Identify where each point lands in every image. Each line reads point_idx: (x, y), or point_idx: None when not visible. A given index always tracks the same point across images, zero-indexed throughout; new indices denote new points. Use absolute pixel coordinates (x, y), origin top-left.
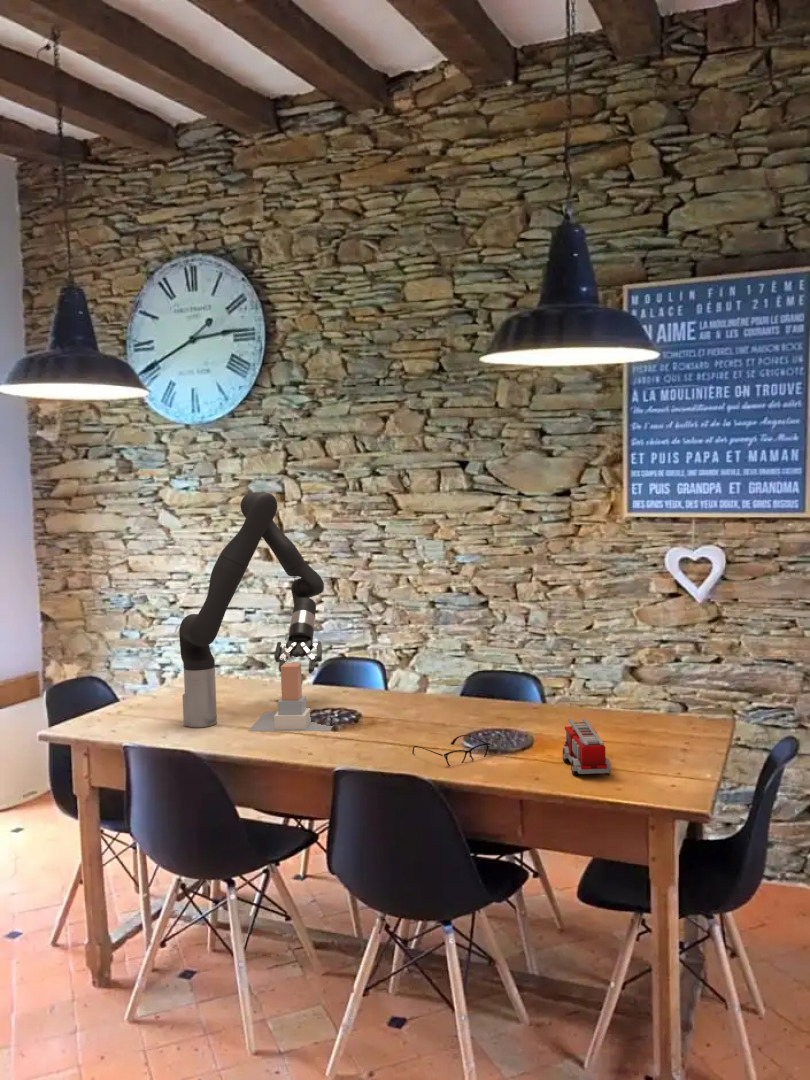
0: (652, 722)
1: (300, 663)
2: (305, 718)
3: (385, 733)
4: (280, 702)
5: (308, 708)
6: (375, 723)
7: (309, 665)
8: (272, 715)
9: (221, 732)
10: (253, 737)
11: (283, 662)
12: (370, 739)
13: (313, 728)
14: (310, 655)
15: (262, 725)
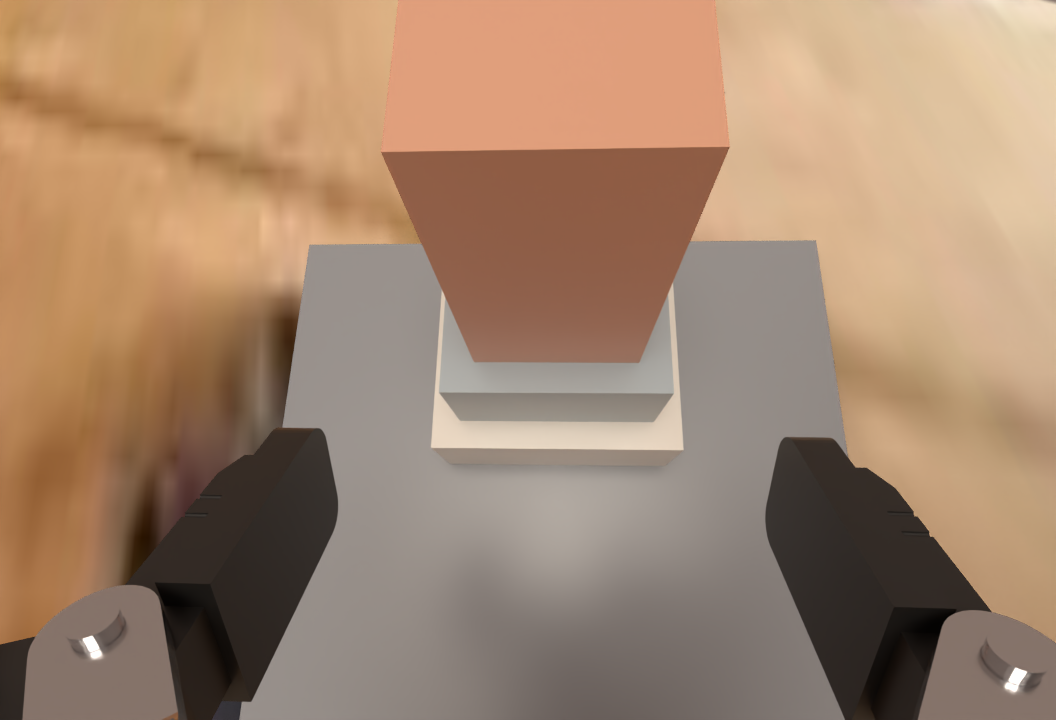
0: None
1: (387, 128)
2: None
3: (10, 255)
4: None
5: (444, 439)
6: (26, 474)
7: (269, 473)
8: (787, 664)
9: (995, 278)
10: (746, 181)
11: (862, 549)
12: (107, 153)
13: (412, 292)
14: (110, 699)
15: (765, 364)
